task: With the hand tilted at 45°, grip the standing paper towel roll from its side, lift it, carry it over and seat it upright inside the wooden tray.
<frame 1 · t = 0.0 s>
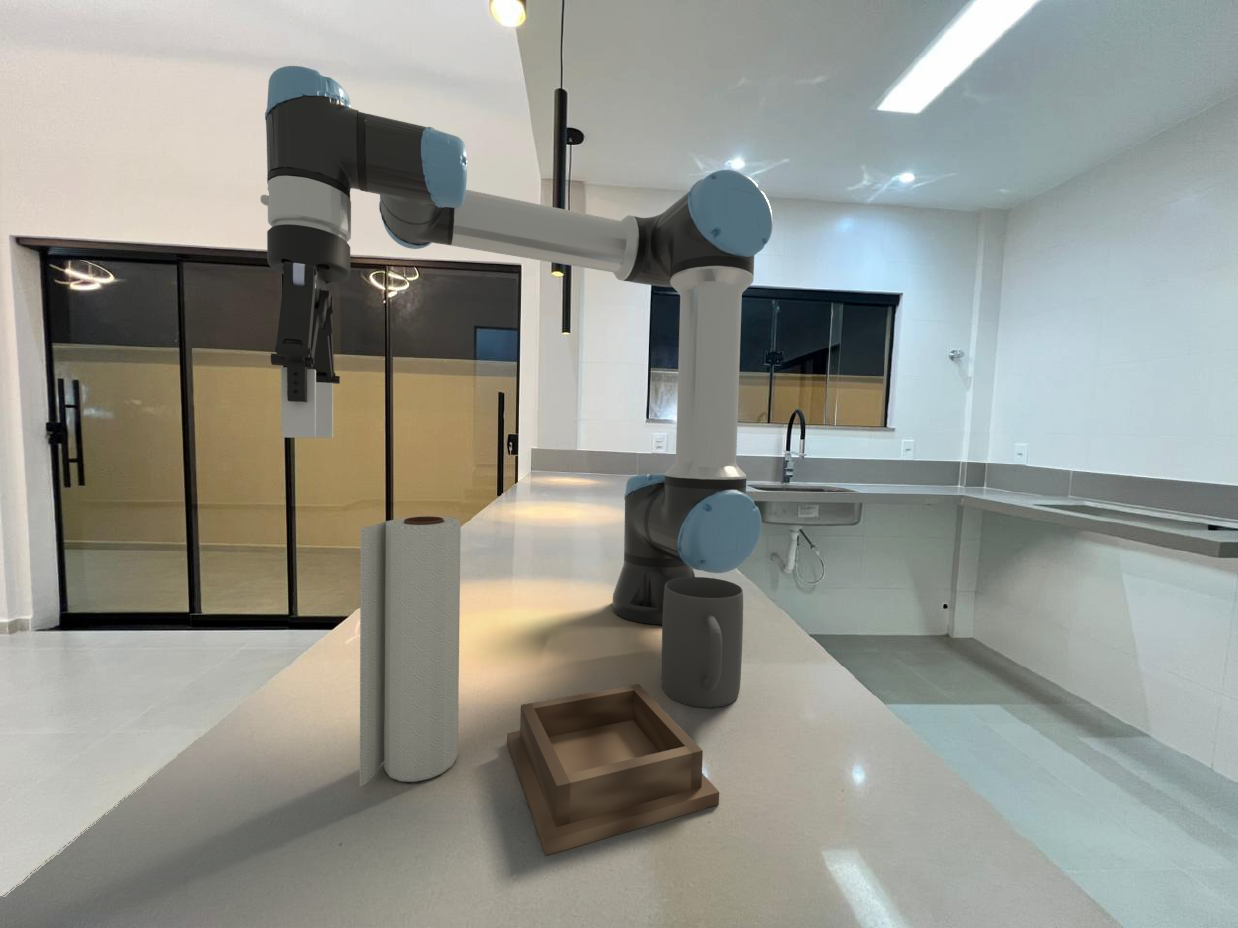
hand: (310, 438, 55), 28 cm above the countertop, tool pointing down, fingers open, 13 cm apart
paper towel roll: (414, 764, 45), on the countertop
wooden tray: (604, 771, 45), on the countertop
mug: (703, 700, 58), on the countertop
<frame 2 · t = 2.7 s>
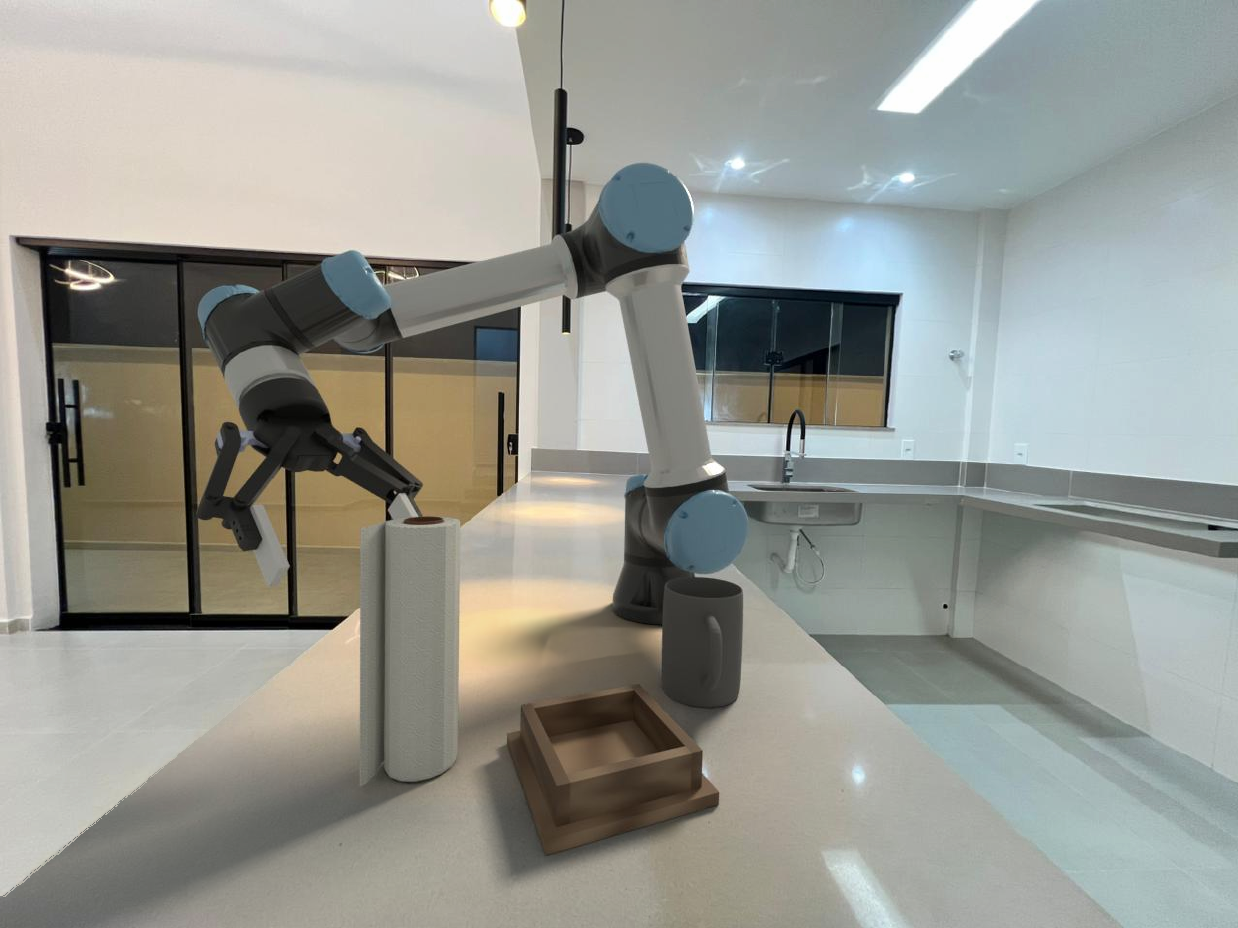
hand: (360, 562, 47), 17 cm above the countertop, tool tilted 45°, fingers open, 13 cm apart
nothing on the countertop moved.
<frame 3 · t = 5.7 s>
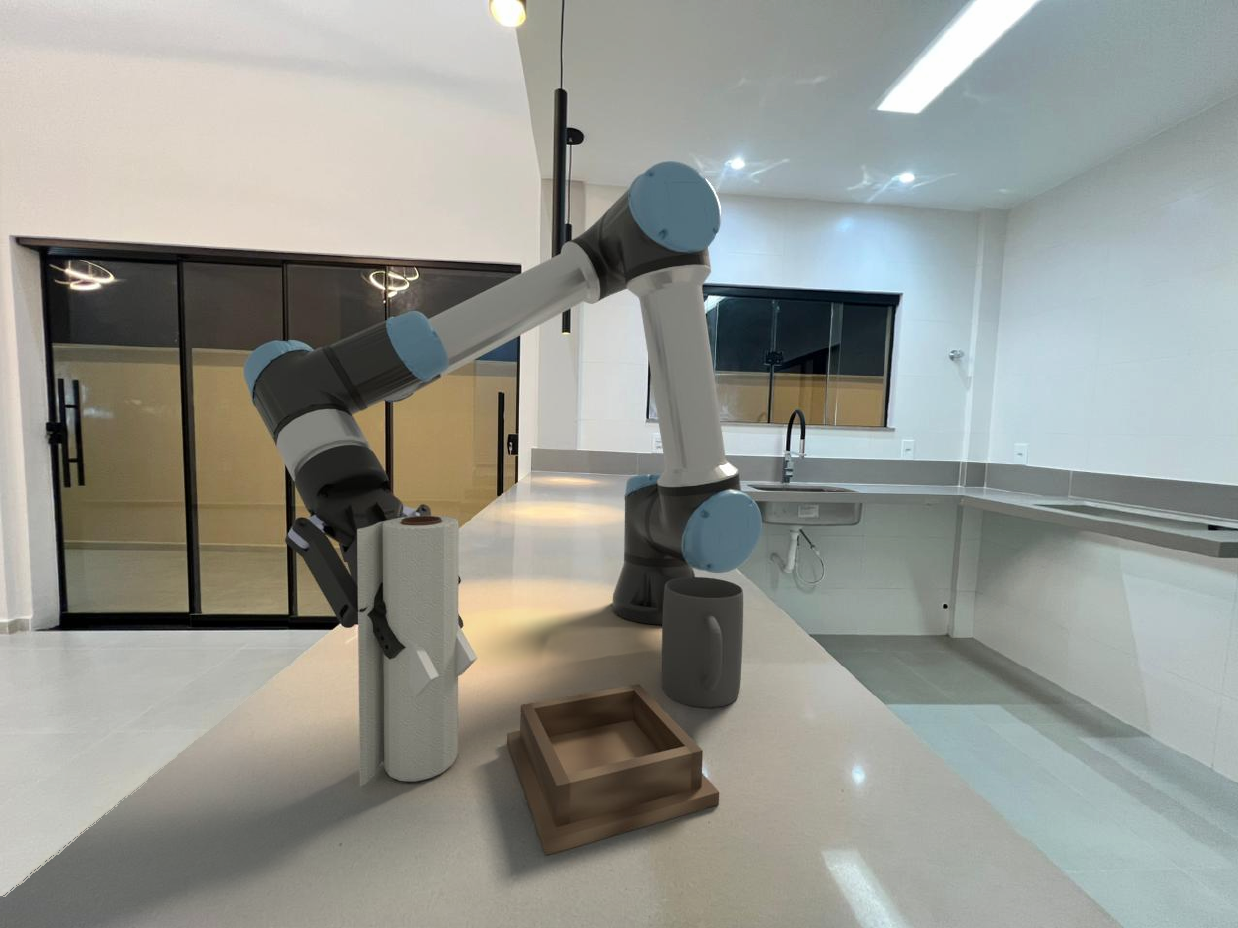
hand: (447, 676, 43), 9 cm above the countertop, tool tilted 45°, fingers closed on paper towel roll, 3 cm apart
paper towel roll: (415, 763, 45), on the countertop, touching gripper
everything else where it was.
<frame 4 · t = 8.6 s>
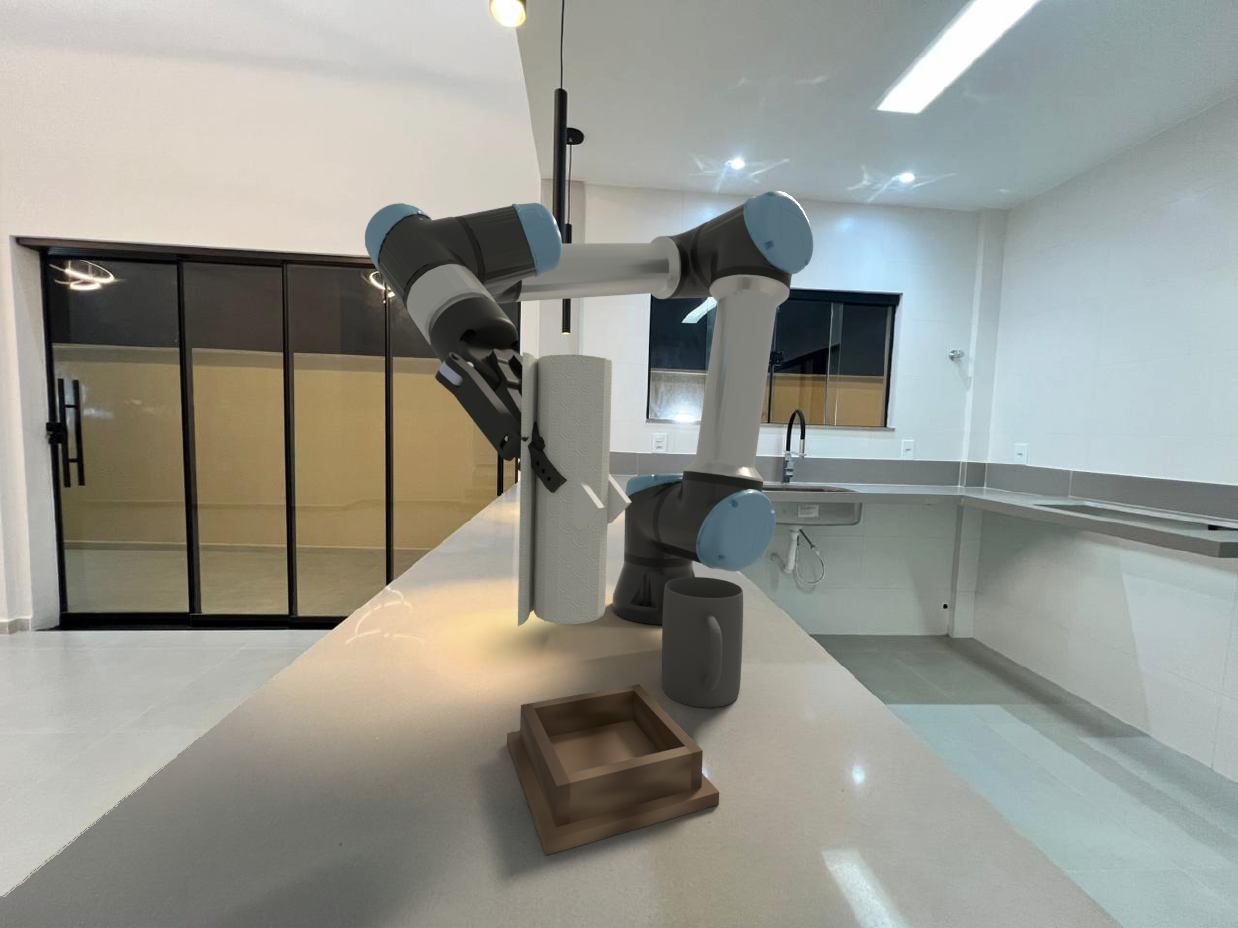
hand: (605, 515, 41), 22 cm above the countertop, tool tilted 45°, fingers closed on paper towel roll, 3 cm apart
paper towel roll: (562, 616, 43), point 14 cm above the countertop, touching gripper
everything else where it was.
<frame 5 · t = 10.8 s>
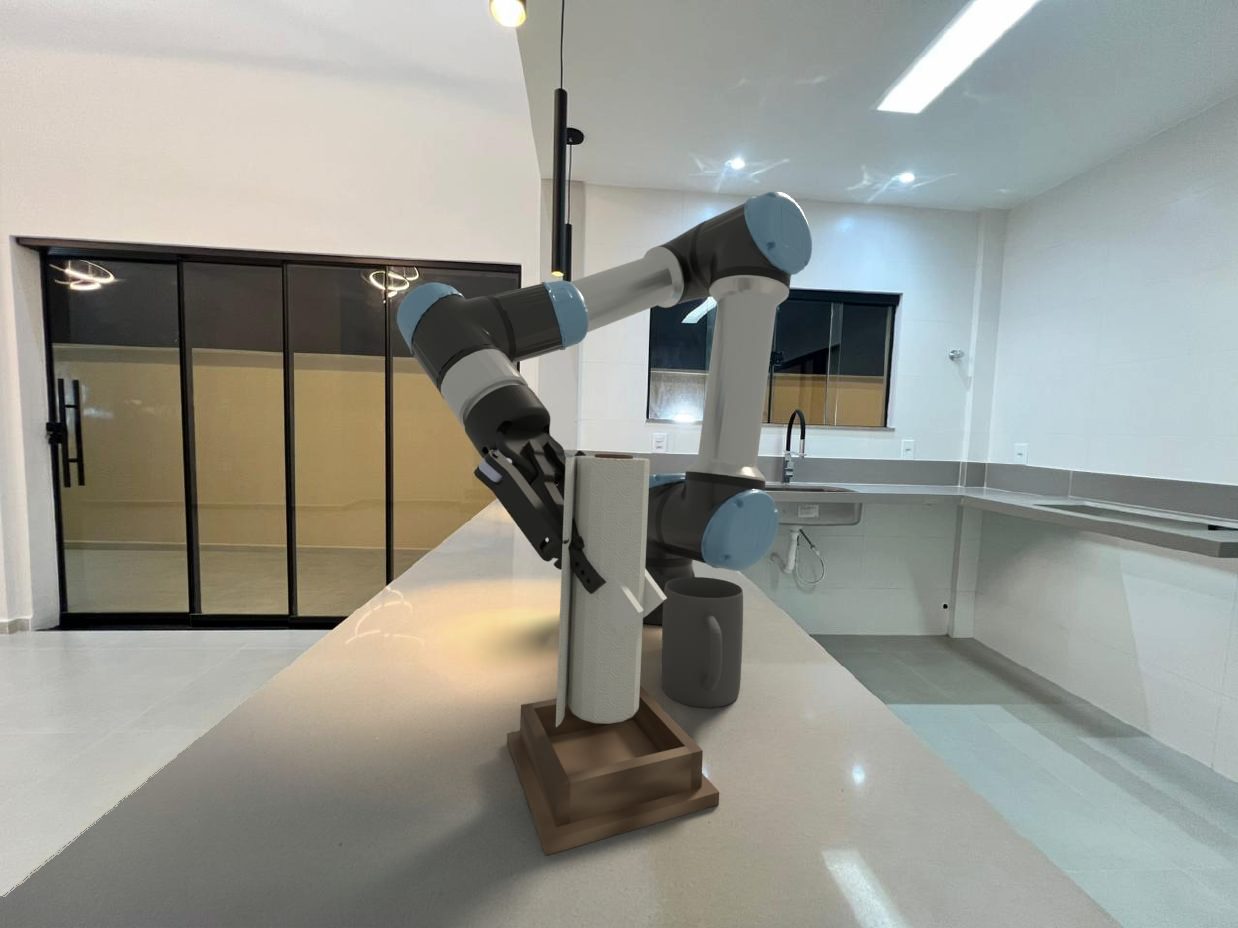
hand: (642, 613, 42), 15 cm above the countertop, tool tilted 45°, fingers closed on paper towel roll, 3 cm apart
paper towel roll: (596, 709, 44), point 6 cm above the countertop, touching gripper
everything else where it was.
when the fingers open (11 cm above the countertop, at t = 11.9 s): paper towel roll drops 1 cm, resting on wooden tray.
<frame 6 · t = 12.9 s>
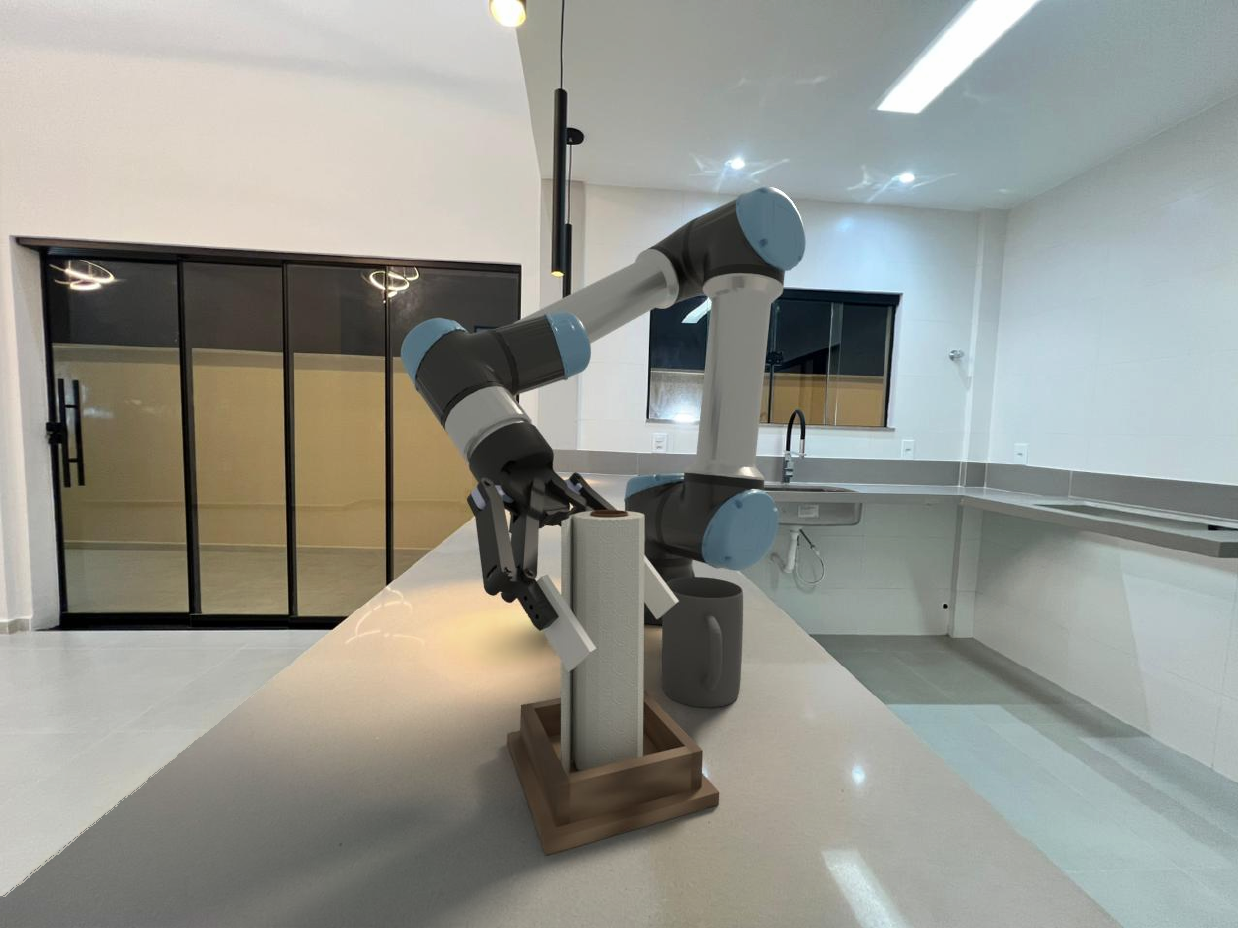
hand: (631, 632, 43), 13 cm above the countertop, tool tilted 45°, fingers open, 13 cm apart
paper towel roll: (601, 763, 44), point 1 cm above the countertop, touching wooden tray
everything else where it was.
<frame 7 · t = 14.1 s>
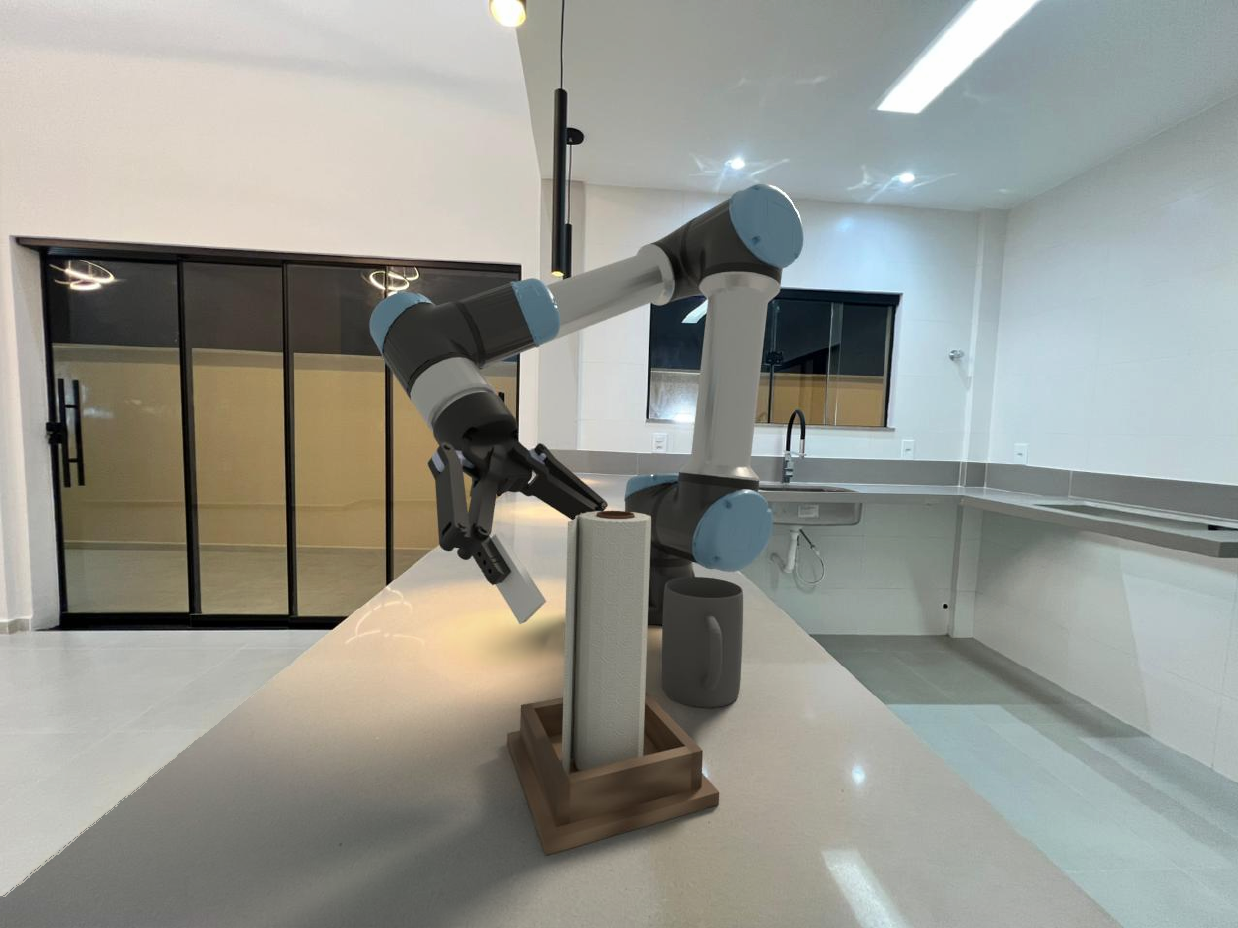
hand: (586, 591, 44), 15 cm above the countertop, tool tilted 45°, fingers open, 13 cm apart
nothing on the countertop moved.
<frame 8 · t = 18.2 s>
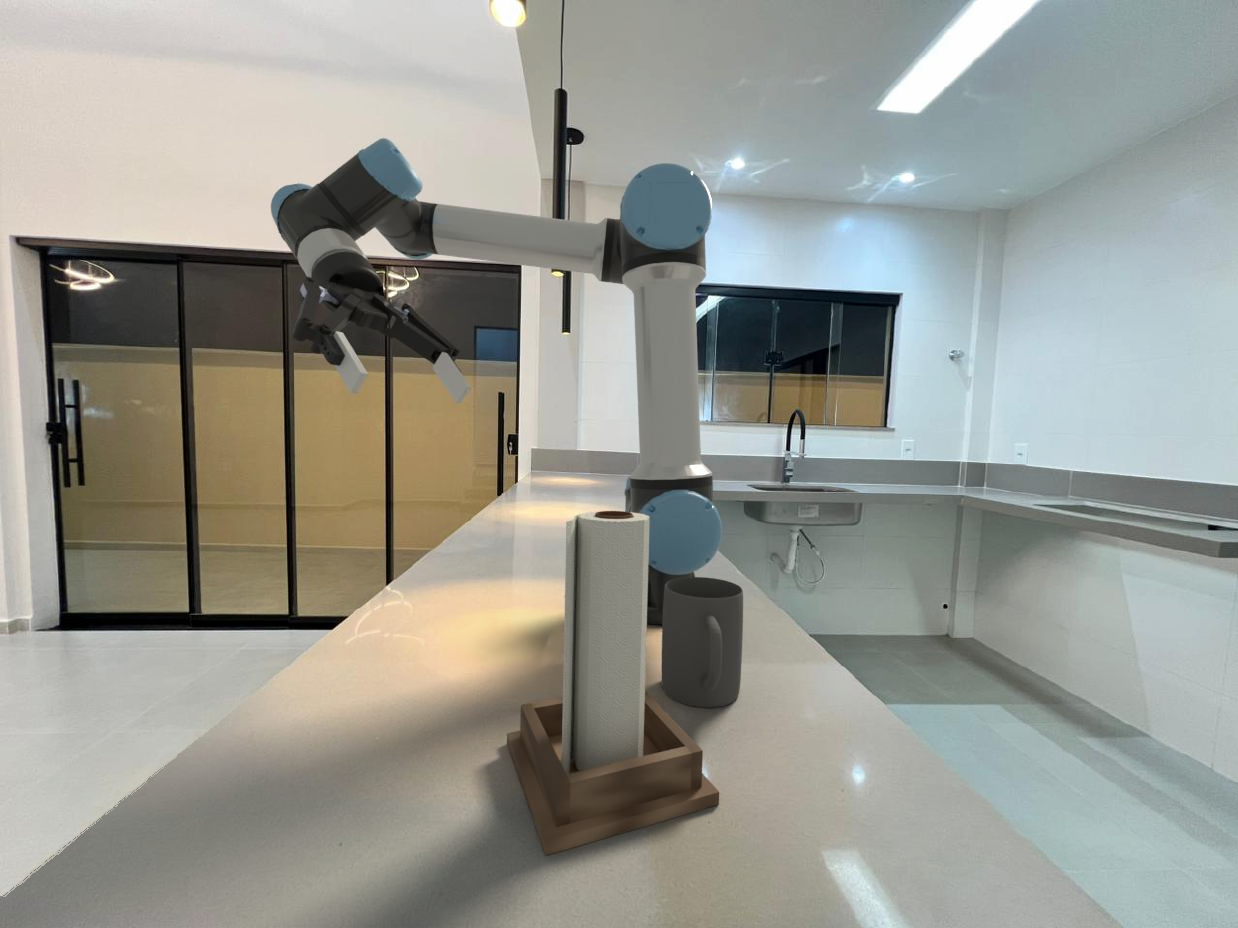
hand: (416, 390, 59), 34 cm above the countertop, tool tilted 45°, fingers open, 13 cm apart
nothing on the countertop moved.
at the end: paper towel roll 0.3 cm off-centre on the wooden tray, point 0.8 cm above the wooden tray's base; paper towel roll tilted 0°; the gripper is holding nothing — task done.
